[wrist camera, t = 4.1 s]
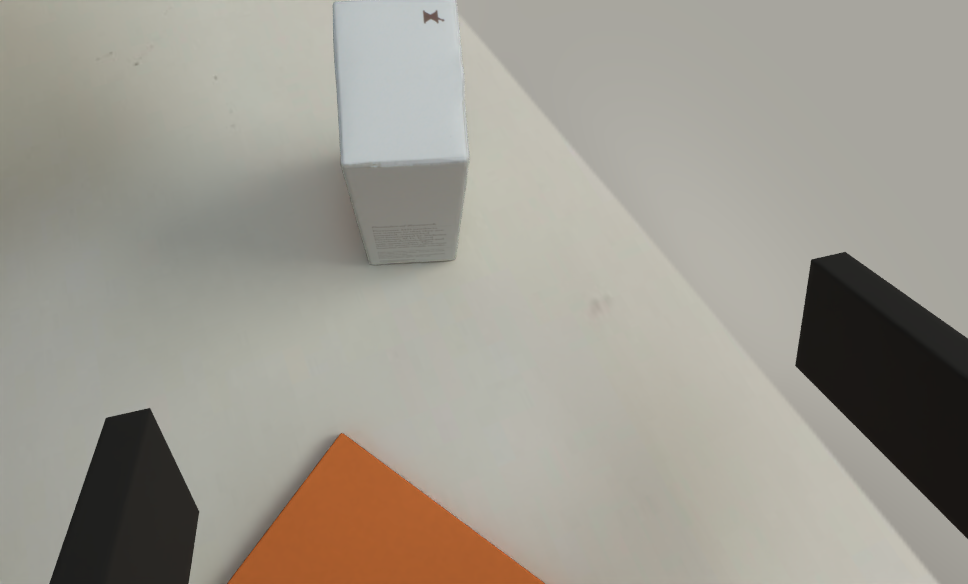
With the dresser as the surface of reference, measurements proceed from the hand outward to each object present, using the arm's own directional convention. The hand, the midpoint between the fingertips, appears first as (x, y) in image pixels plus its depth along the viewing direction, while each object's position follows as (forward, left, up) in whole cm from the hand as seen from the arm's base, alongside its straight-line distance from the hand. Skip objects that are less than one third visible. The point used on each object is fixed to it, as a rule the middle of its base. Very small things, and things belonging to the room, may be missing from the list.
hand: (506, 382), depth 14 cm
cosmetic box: (-10, +4, -19) cm, 22 cm away
